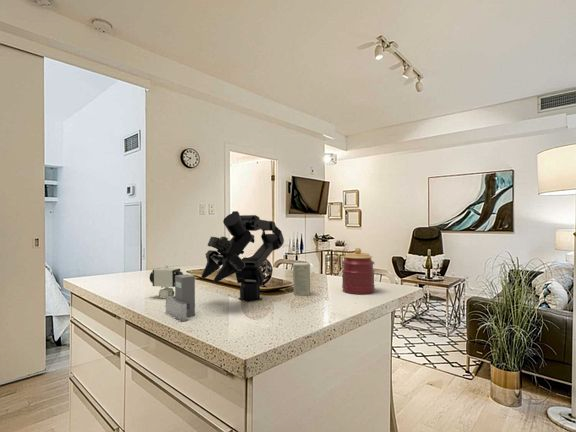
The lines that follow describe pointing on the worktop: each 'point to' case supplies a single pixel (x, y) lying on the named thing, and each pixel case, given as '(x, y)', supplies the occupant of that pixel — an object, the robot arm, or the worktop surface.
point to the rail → (177, 308)
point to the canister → (358, 273)
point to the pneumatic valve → (165, 280)
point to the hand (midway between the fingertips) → (208, 279)
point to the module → (186, 291)
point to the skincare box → (301, 278)
